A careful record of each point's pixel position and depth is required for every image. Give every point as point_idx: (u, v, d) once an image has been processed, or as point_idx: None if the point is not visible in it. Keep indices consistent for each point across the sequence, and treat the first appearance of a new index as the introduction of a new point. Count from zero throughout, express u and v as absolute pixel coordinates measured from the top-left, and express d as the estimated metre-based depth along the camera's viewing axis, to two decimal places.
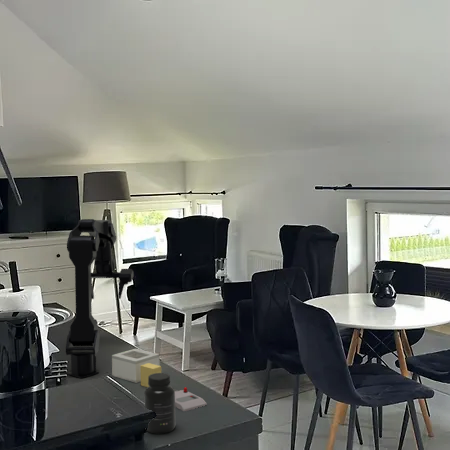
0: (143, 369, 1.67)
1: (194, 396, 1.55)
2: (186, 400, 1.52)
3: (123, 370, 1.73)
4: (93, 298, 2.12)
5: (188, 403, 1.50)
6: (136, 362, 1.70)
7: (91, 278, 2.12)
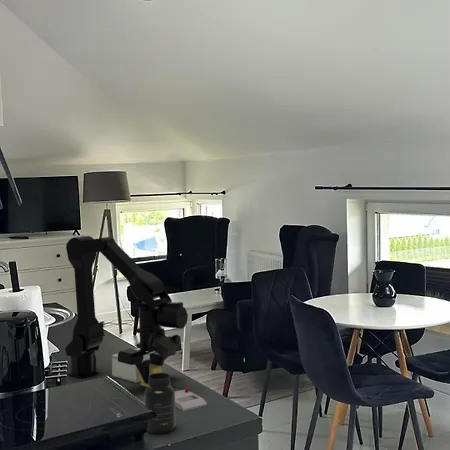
0: None
1: (195, 396, 1.55)
2: (186, 400, 1.52)
3: (123, 370, 1.73)
4: None
5: (188, 403, 1.51)
6: None
7: (162, 357, 1.67)
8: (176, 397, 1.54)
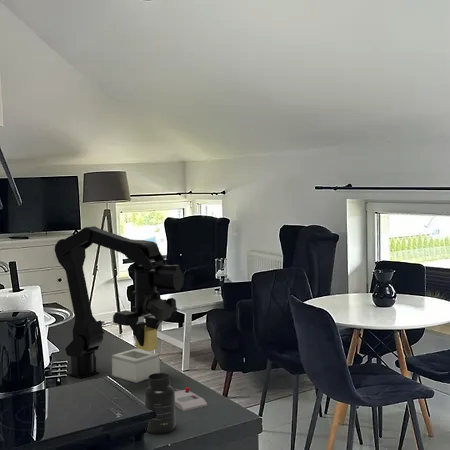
0: None
1: (195, 396, 1.55)
2: (186, 400, 1.52)
3: (123, 370, 1.73)
4: None
5: (188, 403, 1.51)
6: (136, 362, 1.70)
7: (157, 320, 1.69)
8: (176, 397, 1.54)
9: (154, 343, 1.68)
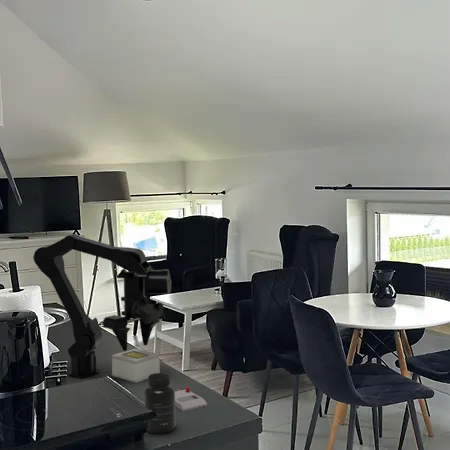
0: None
1: (195, 396, 1.55)
2: (186, 400, 1.52)
3: (123, 370, 1.73)
4: None
5: (188, 403, 1.51)
6: (136, 362, 1.70)
7: (151, 323, 1.78)
8: (176, 397, 1.54)
9: None
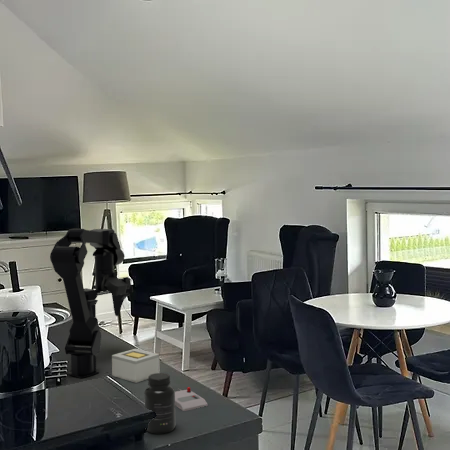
0: None
1: (196, 396, 1.55)
2: (187, 400, 1.52)
3: (123, 370, 1.73)
4: (115, 315, 1.98)
5: (188, 403, 1.51)
6: (136, 362, 1.70)
7: (122, 295, 1.96)
8: (177, 397, 1.54)
9: None
